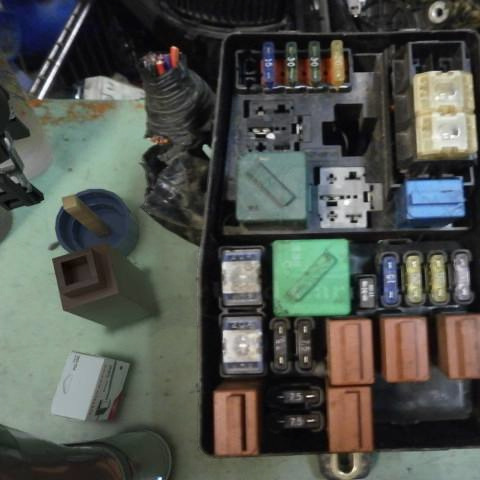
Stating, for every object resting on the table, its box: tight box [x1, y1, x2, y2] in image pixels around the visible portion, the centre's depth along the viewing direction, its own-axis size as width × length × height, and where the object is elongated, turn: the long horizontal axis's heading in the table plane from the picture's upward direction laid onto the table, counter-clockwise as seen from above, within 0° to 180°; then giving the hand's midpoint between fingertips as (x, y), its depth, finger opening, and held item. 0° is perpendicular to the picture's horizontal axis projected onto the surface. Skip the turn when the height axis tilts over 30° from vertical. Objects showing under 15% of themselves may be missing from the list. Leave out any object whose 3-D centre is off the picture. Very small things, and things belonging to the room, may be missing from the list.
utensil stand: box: [51, 242, 156, 329], centre depth 75 cm, size 7×7×21 cm
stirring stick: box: [61, 193, 111, 238], centre depth 81 cm, size 2×2×14 cm
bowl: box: [54, 188, 140, 258], centre depth 85 cm, size 11×11×6 cm
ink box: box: [49, 349, 131, 422], centre depth 76 cm, size 9×5×12 cm, turn 168°
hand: (28, 167), depth 63 cm, fingers open, 8 cm apart
